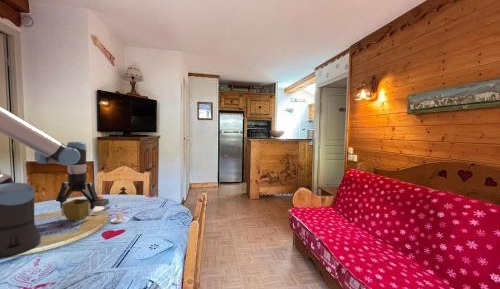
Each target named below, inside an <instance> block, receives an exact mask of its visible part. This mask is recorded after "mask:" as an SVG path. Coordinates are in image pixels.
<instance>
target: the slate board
mask: <svg viewBox="0 0 500 289" xmlns="http://www.w3.org/2000/svg"><path fill="white" fill-rule="evenodd" d="M109 209H111V205H110V206H109V205H105V206H95V208H94V209H93V214H97V213H99V212H101V211H104V212H106V211H107V210H109Z"/></svg>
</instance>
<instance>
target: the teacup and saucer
mask: <svg viewBox="0 0 500 289" xmlns="http://www.w3.org/2000/svg"><path fill="white" fill-rule="evenodd" d="M115 214H116V215H115V216H116V218H113V219H111V220H110V222H111V223H113V224H119V223H124V222H127V221H129V219H130V218H129V217H126V216H124V212H123V211H118V212H116V213H115ZM123 219H125V220H123Z"/></svg>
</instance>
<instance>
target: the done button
mask: <svg viewBox="0 0 500 289" xmlns="http://www.w3.org/2000/svg"><path fill="white" fill-rule="evenodd" d="M97 196H98V198H99V200H98V201H103V199H104V195H103V194H102V195H101V194H99V195H97Z"/></svg>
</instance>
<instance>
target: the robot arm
mask: <svg viewBox="0 0 500 289" xmlns="http://www.w3.org/2000/svg"><path fill="white" fill-rule="evenodd" d="M0 134H2V135H4V136H6V137H8V138H10V139H12V140H13V141H16V142H18V143H20V144H22V145H23V146H25V147H27V148H29V149H31V150H33V151H34V152H33V153H34V154H33V155H34V160H35V162H36V163H37V164H45V165H46V164H56V165H62V166H67V173H68V174H67V181H64V182H62V183H61V187H60V189H59V192H58V194H57V197H56V199H55V201H56V202H59V206H60V209H61V216H62V217H64V216H65V214H64V211H63V205H62V204H64V203H66V202H68V201H67V200H68V198H69V197H70V196H71V195H72V194H73V192H78V193H79V192H80V193H82V195H84V197H85V199H87V200H88V201H89V202H90V203H88V215H87V217H92V216H91V215H93V209H94V208H95V202H96V201H98V200H99V198H98V196H99V195H98V194H97V193H96V190H95V188H94V183H93V182H87V176H88V175H87V152H88V151H87V144H86V142H84V141H68V142H67V145H65V144H64V143H63V142H60V141H59V140H58V139H55V138H54V137H53V136H50V135H49V134H47V133H45V131H44V132H43V130H41V129H40V128H37V127H36V126H34V125H32V124H31V123H29V122H27V121H25V120H24V119H23V118H21V117H19V116H17V115H15V114H14V113H12V112H11V111H9V110H7V109H6V108H3V107H2V106H0ZM68 187H69V188H68ZM35 194H36V193H35V190H34V186H33V185H32V184H29V183H27V182H14V180H13V177H12V176H11V175H10V174H7V173H4V172H3V171H2V169H1V168H0V258H3V257H8V256H13V255H17V254H18V255H19V254H21V253H24V252H27V251H29V250H31V249H34V248H36V247H37V246H39V245H40V243H41V242H42V235H41V234H40V233H39V231H38V228H37V226H36V224H35V197H36V195H35Z"/></svg>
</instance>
